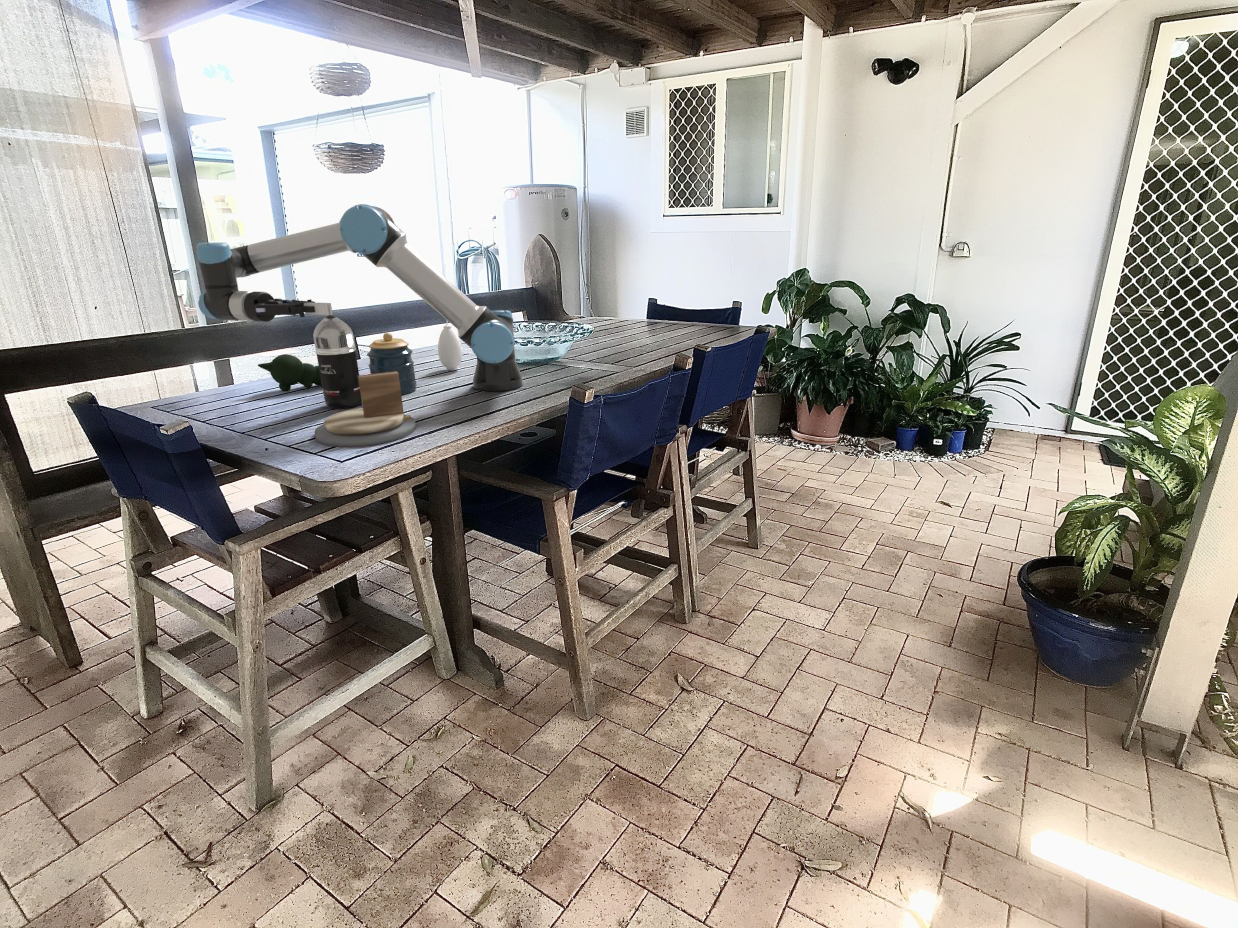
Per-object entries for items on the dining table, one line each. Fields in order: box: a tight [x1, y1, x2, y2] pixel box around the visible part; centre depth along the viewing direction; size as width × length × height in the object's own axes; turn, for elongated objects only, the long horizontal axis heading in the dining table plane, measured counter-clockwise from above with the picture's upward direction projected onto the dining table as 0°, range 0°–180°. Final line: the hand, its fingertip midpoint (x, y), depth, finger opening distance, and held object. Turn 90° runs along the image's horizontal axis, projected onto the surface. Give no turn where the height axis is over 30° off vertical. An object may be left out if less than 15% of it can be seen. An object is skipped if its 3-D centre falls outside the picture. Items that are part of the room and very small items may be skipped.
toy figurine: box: [257, 353, 322, 392], centre depth 199 cm, size 9×19×25 cm
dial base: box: [314, 414, 417, 448], centre depth 157 cm, size 23×23×2 cm
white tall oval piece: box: [437, 319, 463, 372], centre depth 221 cm, size 8×8×18 cm
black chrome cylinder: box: [312, 314, 362, 410], centre depth 177 cm, size 10×10×25 cm
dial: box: [323, 371, 405, 434], centre depth 155 cm, size 18×18×12 cm
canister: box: [366, 332, 417, 395], centre depth 194 cm, size 13×13×18 cm
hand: (328, 309), depth 160 cm, fingers closed
